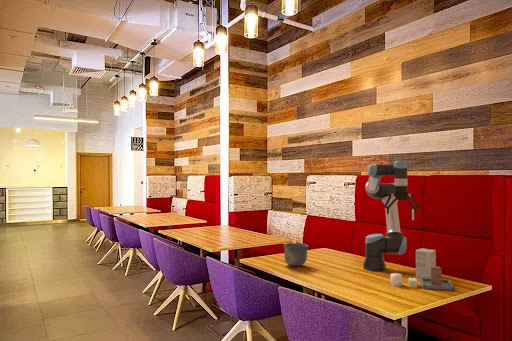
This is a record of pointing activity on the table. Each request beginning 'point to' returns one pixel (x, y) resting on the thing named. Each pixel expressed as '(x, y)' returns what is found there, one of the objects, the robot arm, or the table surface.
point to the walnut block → (436, 276)
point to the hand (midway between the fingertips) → (401, 219)
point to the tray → (445, 285)
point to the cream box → (413, 282)
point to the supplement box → (425, 262)
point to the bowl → (295, 253)
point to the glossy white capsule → (396, 279)
